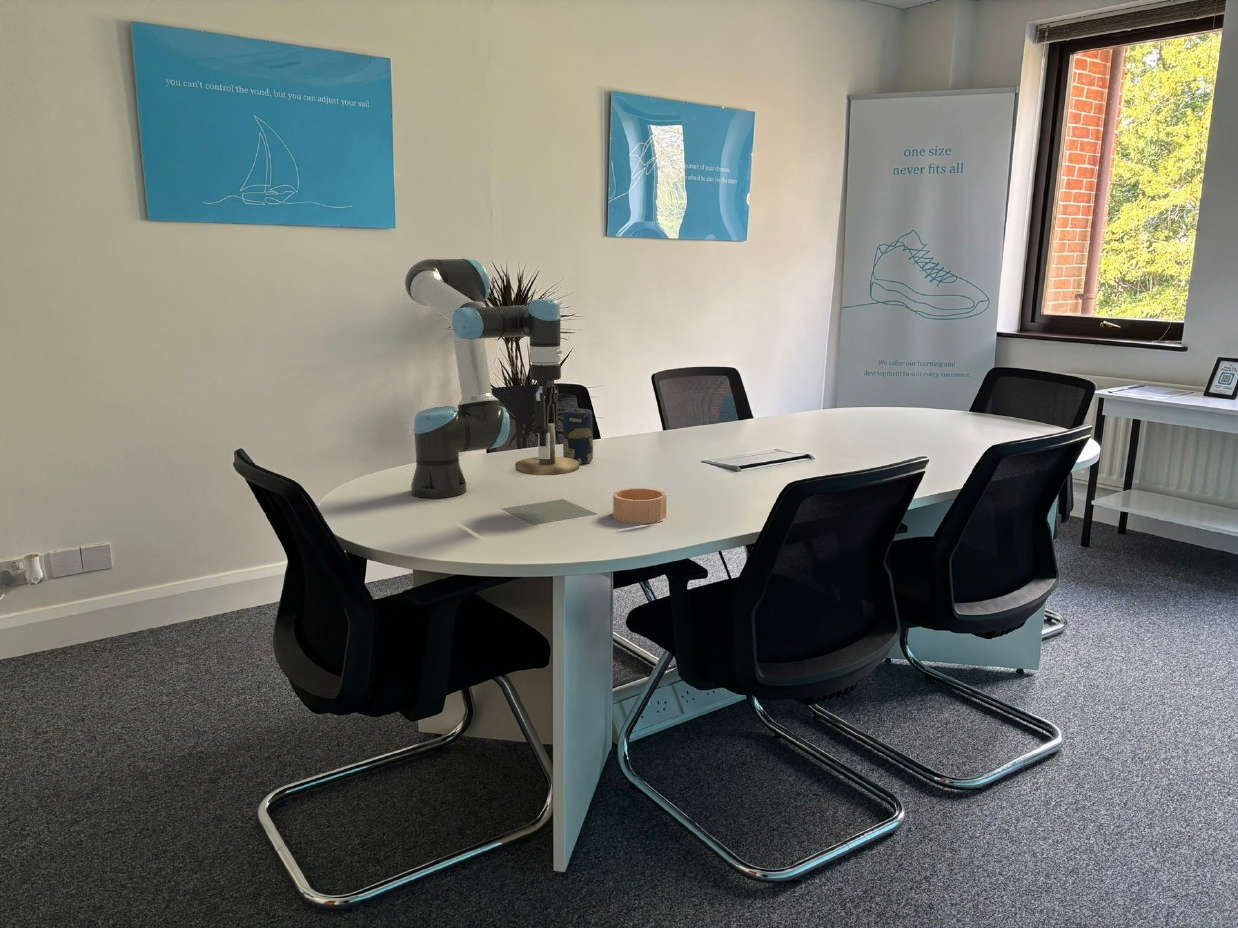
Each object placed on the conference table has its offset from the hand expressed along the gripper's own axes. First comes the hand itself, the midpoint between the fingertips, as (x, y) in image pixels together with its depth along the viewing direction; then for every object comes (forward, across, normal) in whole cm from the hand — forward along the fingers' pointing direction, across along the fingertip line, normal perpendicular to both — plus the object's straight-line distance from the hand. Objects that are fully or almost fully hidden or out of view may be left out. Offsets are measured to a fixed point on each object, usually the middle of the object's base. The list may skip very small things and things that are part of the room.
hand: (547, 456), depth 226 cm
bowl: (+15, 0, -24) cm, 28 cm away
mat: (+15, 0, 0) cm, 15 cm away
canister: (+16, +61, +9) cm, 64 cm away
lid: (+3, 0, 0) cm, 3 cm away
